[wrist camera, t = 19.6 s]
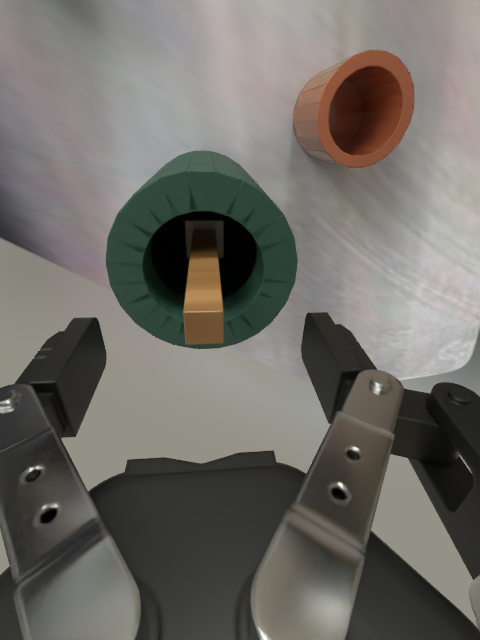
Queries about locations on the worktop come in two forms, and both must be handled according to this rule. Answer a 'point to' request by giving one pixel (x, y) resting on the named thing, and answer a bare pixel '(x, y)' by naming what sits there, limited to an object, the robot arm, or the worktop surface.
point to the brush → (204, 278)
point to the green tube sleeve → (172, 264)
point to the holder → (355, 109)
